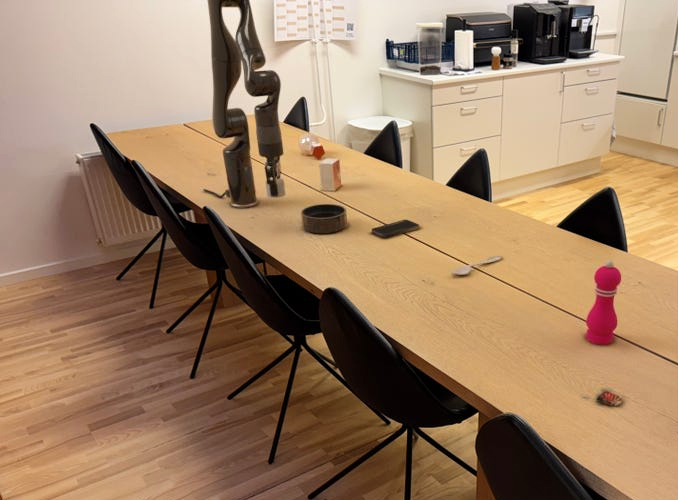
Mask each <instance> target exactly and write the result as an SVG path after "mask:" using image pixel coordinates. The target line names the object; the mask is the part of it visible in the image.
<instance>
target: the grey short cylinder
mask: <svg viewBox="0 0 678 500" xmlns="http://www.w3.org/2000/svg"><path fill="white" fill-rule="evenodd" d="M270 180H273V178H270ZM285 185H286V184H285V180H284V179H283V178H280V179H279V178H277V189H278V195H277V196H271V193H270V185H269V184H267V179H266V180H265V189H266V196H267V197H269V198H274V199H275V198H277V199H278V198H282V197H285V196H286V187H285Z"/></svg>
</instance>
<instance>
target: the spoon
mask: <svg viewBox="0 0 678 500" xmlns="http://www.w3.org/2000/svg"><path fill="white" fill-rule="evenodd" d="M501 259H502V256H501V257H500V256H494V257H492V258H489V259H486V260H483V261H480V262H476V263H472V264H468V265H465V266H462V267H459V268H456V269H454V270H452V271H451V273H452V274H454V275H459V276H465V275H468V274H469V273H471V268H472V267H474V266H478V265H484V264H490V263H494V262H497V261H500V260H501Z"/></svg>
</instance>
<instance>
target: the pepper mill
mask: <svg viewBox="0 0 678 500" xmlns="http://www.w3.org/2000/svg"><path fill="white" fill-rule="evenodd" d="M604 264H605V265H602V266H600V267H598V269H597V270H596V271H595V273H594V276H593V280H594V283H595V284H596V285H595V286H594V288H595V289H594V293H595V301H594V303H593V306H592V307H591V309H590V310H589V312H588V314H587V316H586V320H585V324H586V327H587V330H586V336H585V337H586V340H587V341H588V342H589V343H592V344H595V345H608V344H611V343H613V341H614V335H615V333H614V331H616V329H617V327H618V316H617V313H616V310H615V305H614V304H615V303H614V302H615V296H616V295H617V294H618V286H619V285H620V284H621V282H622V273H621V272H620V270H619V269H618V268H617V267H616V266H614V261H613V260H610V259H609V260H607V261H606V262H605V263H604Z"/></svg>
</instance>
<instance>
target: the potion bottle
mask: <svg viewBox="0 0 678 500" xmlns="http://www.w3.org/2000/svg"><path fill="white" fill-rule="evenodd" d="M298 148H299V150H300V152H301V153H302V154H304V155H306V156H312V157H314V158H315V159H317V160H320V159H321V158H322V157H323V156H324V155H325V154H326V152H325V149H324V146H323V144H322V143H321V142H320V140H319V139H318V137H317V136H316V135H314V134H313V133H307V132H306V133H305V134H302V135H301V136H300V137H299V139H298Z"/></svg>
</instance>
